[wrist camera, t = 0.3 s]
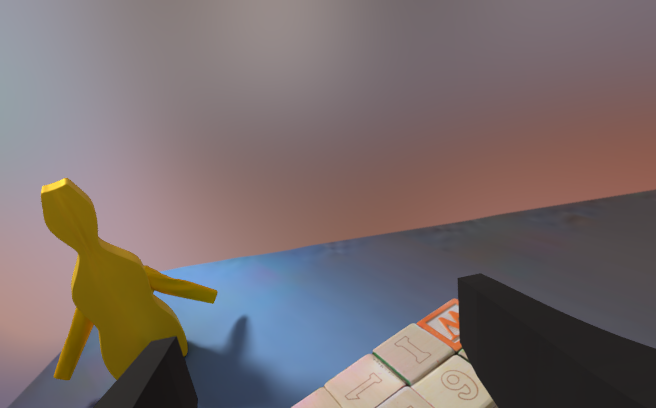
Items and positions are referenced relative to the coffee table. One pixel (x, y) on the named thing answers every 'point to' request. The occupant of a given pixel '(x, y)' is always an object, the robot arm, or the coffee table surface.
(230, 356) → the coffee table surface
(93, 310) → the figure statuette
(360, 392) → the stack of blocks
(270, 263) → the coffee table surface
